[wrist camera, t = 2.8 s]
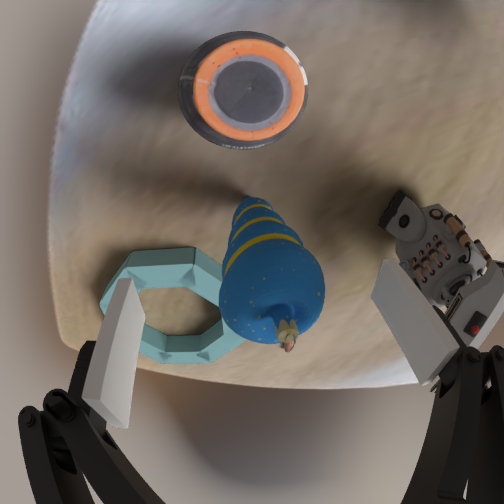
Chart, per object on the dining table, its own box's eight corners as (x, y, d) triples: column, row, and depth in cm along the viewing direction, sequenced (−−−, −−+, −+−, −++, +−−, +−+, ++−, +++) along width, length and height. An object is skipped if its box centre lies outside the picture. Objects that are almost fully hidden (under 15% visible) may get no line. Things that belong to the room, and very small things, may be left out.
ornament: (208, 213, 23) (203, 374, 11) (233, 159, 20) (257, 290, 8) (262, 233, 25) (304, 386, 12) (290, 183, 22) (373, 320, 10)
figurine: (346, 266, 28) (410, 386, 16) (405, 174, 23) (519, 267, 10) (396, 284, 31) (455, 380, 18) (448, 210, 25) (534, 293, 13)
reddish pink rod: (289, 315, 31) (290, 320, 30) (295, 314, 31) (297, 319, 31) (284, 349, 35) (285, 353, 34) (289, 348, 35) (291, 353, 34)
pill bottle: (267, 47, 16) (318, 8, 6) (281, 118, 19) (342, 153, 10) (186, 63, 16) (148, 37, 6) (205, 135, 19) (189, 185, 10)
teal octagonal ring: (92, 253, 24) (84, 269, 22) (243, 244, 25) (246, 260, 23) (133, 347, 32) (129, 362, 30) (245, 344, 33) (247, 360, 31)
